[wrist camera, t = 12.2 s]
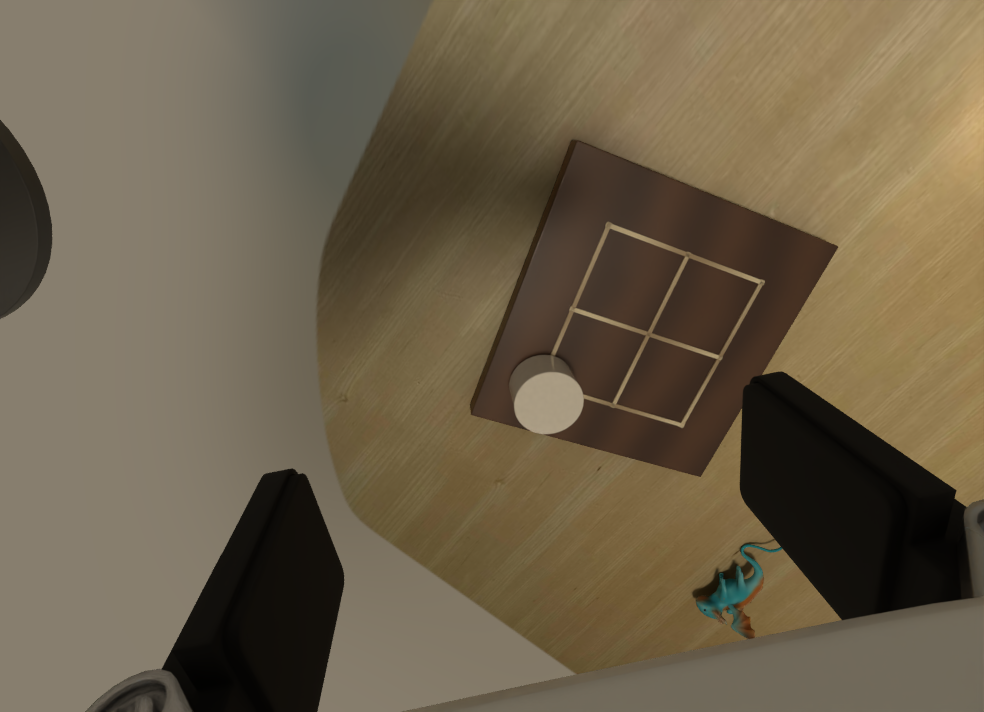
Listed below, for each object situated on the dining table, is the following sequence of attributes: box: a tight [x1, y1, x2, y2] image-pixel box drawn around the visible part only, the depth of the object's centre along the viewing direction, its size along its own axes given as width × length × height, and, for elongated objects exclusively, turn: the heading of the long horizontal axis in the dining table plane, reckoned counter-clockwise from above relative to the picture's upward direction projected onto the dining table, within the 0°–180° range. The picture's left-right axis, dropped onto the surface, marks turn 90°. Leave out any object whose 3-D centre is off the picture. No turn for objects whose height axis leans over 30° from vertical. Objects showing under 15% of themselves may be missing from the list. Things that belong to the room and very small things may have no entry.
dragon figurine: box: [696, 544, 782, 639], centre depth 48 cm, size 7×7×8 cm
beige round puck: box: [509, 355, 584, 434], centre depth 36 cm, size 5×5×3 cm
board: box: [470, 140, 838, 477], centre depth 37 cm, size 20×20×2 cm
